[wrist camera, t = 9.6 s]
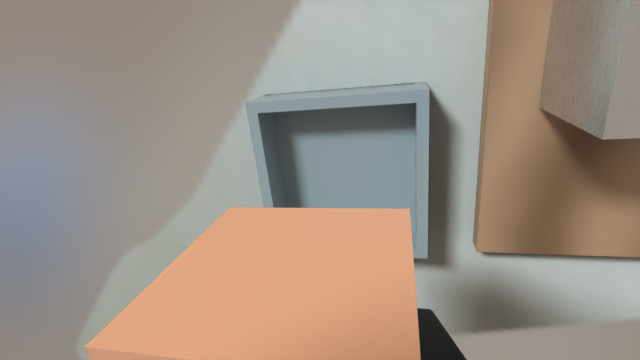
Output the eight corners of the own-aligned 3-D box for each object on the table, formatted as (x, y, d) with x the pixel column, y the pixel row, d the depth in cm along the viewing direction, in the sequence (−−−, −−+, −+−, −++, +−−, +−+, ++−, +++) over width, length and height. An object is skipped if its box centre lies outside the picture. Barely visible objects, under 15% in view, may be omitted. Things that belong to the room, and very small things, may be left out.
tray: (286, 229, 21) (272, 252, 18) (265, 94, 18) (245, 103, 16) (424, 232, 19) (427, 258, 16) (425, 82, 16) (429, 89, 14)
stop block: (256, 341, 9) (165, 533, 6) (229, 207, 8) (84, 347, 4) (409, 357, 8) (418, 599, 5) (409, 209, 7) (422, 389, 3)
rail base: (473, 241, 18) (502, 326, 13) (500, -169, 12) (579, -334, 7) (652, 246, 16) (776, 348, 11) (792, -238, 10) (1226, -546, 5)
